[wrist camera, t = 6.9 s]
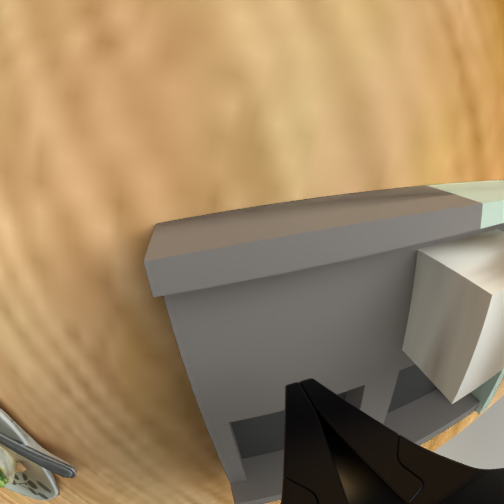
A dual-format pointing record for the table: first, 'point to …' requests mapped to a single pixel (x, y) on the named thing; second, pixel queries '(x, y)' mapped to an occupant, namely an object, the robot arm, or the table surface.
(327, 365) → the box
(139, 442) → the table surface
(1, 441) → the salad plate
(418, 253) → the cream block
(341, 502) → the robot arm
